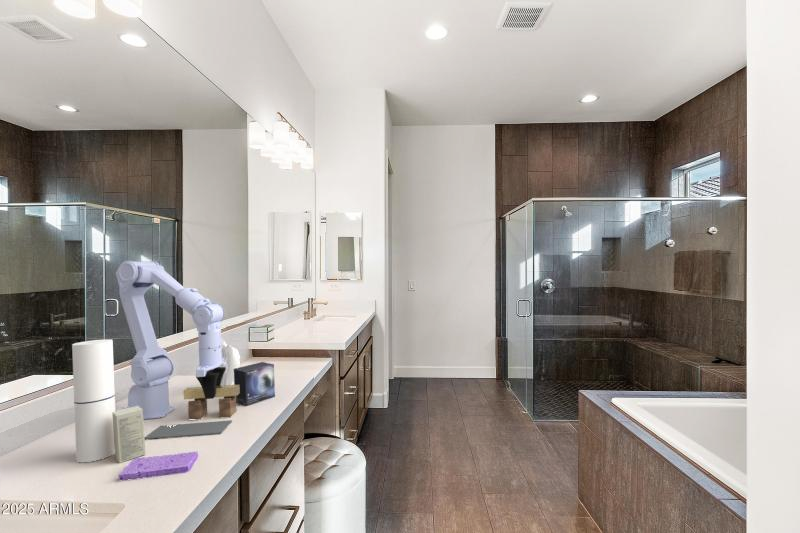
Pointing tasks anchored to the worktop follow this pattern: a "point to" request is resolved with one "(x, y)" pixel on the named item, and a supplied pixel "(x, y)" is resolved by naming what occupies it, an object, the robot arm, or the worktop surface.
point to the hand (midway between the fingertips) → (212, 396)
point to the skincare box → (128, 433)
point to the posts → (200, 407)
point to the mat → (189, 429)
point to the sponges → (159, 465)
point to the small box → (254, 383)
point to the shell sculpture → (229, 363)
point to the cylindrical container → (94, 399)
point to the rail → (219, 392)
